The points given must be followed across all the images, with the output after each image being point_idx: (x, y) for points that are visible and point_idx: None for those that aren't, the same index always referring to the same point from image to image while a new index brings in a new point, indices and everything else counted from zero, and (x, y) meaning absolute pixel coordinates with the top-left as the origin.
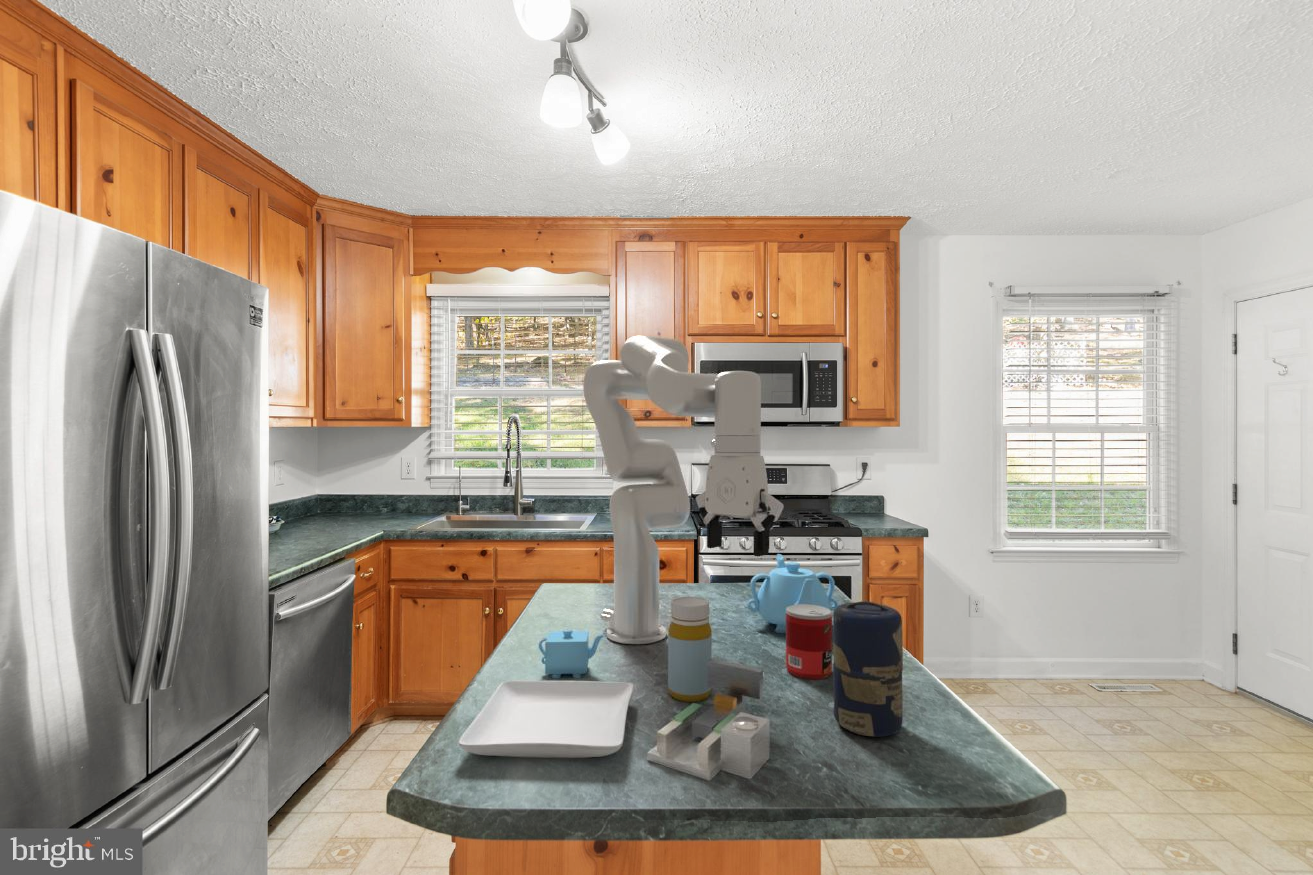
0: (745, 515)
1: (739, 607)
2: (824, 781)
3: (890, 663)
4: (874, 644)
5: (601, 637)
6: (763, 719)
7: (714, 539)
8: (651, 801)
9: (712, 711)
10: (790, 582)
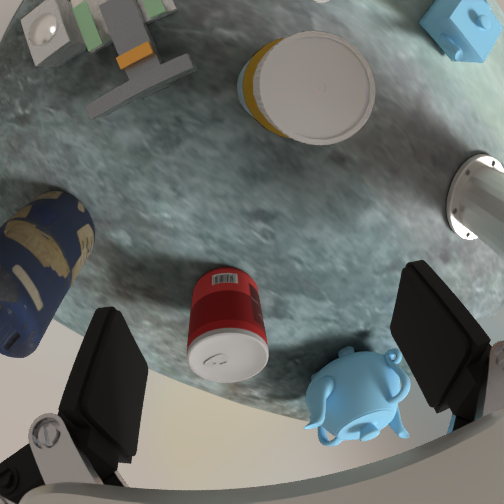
0: (50, 496)
1: None
2: (8, 95)
3: None
4: None
5: (454, 51)
6: (39, 58)
7: (416, 314)
8: None
9: (134, 28)
10: (353, 410)
